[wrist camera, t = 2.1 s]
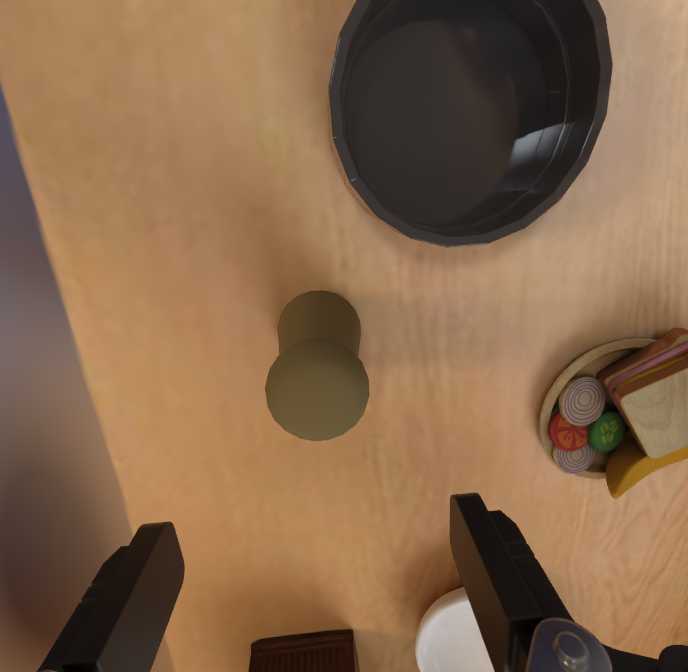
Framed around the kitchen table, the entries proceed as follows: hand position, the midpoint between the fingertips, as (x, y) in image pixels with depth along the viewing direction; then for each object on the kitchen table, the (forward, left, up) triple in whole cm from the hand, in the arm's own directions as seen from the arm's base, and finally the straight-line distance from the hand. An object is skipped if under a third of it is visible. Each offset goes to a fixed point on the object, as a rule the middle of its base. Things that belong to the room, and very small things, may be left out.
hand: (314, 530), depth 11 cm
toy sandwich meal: (+23, -8, -18) cm, 31 cm away
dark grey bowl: (+9, +13, -18) cm, 24 cm away
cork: (0, 0, -18) cm, 18 cm away
